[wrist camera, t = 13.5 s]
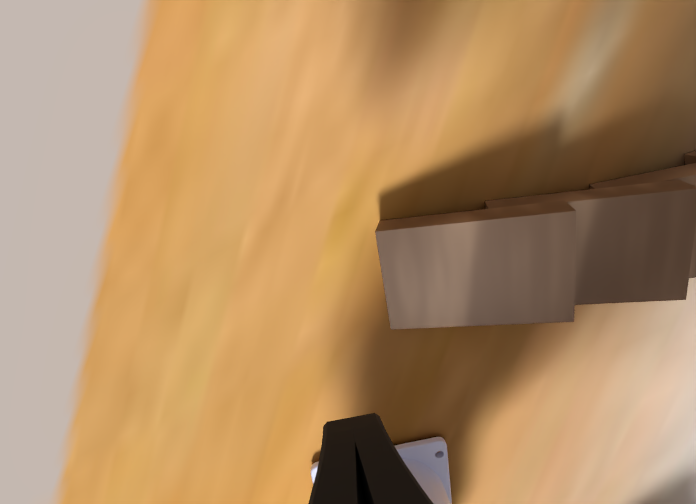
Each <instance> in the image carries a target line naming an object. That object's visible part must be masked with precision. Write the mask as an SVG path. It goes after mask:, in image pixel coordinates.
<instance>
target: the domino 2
mask: <svg viewBox="0 0 696 504" xmlns="http://www.w3.org/2000/svg"><path fill="white" fill-rule="evenodd" d="M563 200H565V201H566V202H567V203H568V204H569V205H570V206H571V207H572V208H574V209H575V210H576V247H575V301H574V305H581V304H602V303H623V302H645V301H666V300H686V295H687V287H688V280H689V272H690V264H691V257H692V249H693V242H694V234H695V226H696V186H694V185H691V184H689V183H686V182H683V181H681V180H672V181H662V182H653V183H644V184H635V185H626V186H617V187H607V188H598V189H589V190H580V191H571V192H562V193H552V194H543V195H534V196H525V197H516V198H507V199H497V200H488V201H485V209H490V208H499V207H508V206H517V205H527V204H536V203H545V202H554V201H563Z"/></svg>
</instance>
